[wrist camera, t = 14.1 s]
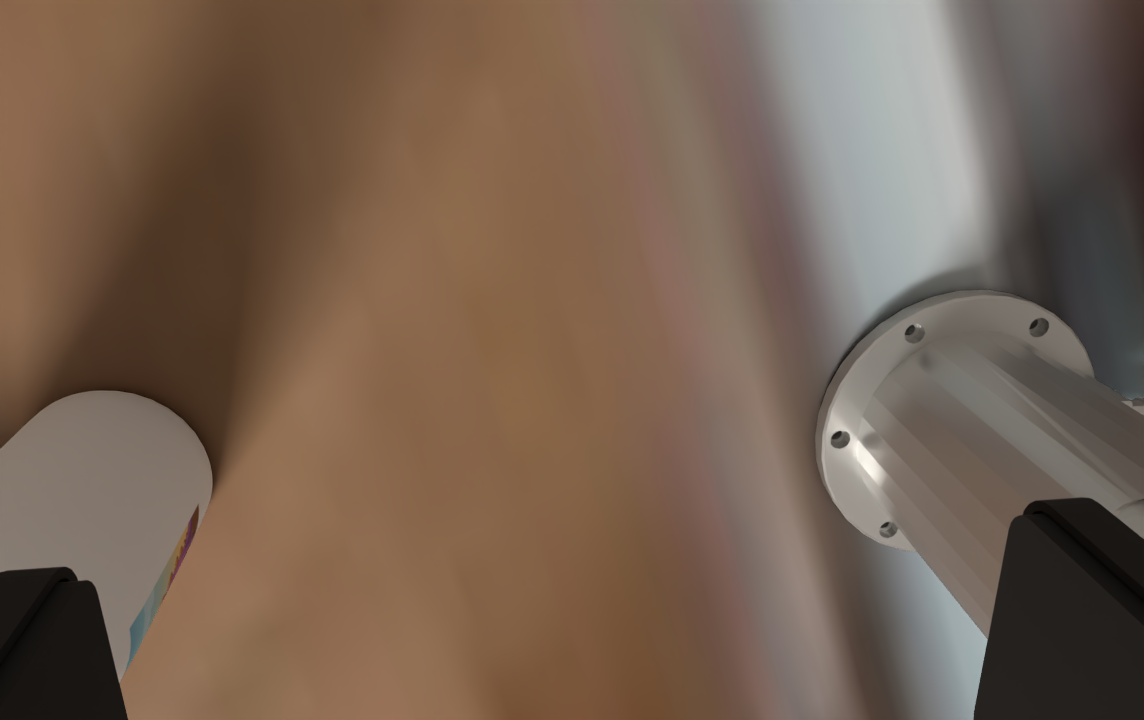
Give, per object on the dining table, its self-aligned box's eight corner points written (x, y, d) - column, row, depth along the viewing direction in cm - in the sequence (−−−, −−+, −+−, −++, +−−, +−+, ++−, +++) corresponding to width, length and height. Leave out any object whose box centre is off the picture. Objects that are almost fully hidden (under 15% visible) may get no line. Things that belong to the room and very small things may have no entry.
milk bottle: (-15, 414, 37) (-488, 833, 19) (170, 361, 37) (-119, 726, 19) (73, 569, 40) (-260, 1063, 22) (245, 519, 40) (59, 971, 22)
